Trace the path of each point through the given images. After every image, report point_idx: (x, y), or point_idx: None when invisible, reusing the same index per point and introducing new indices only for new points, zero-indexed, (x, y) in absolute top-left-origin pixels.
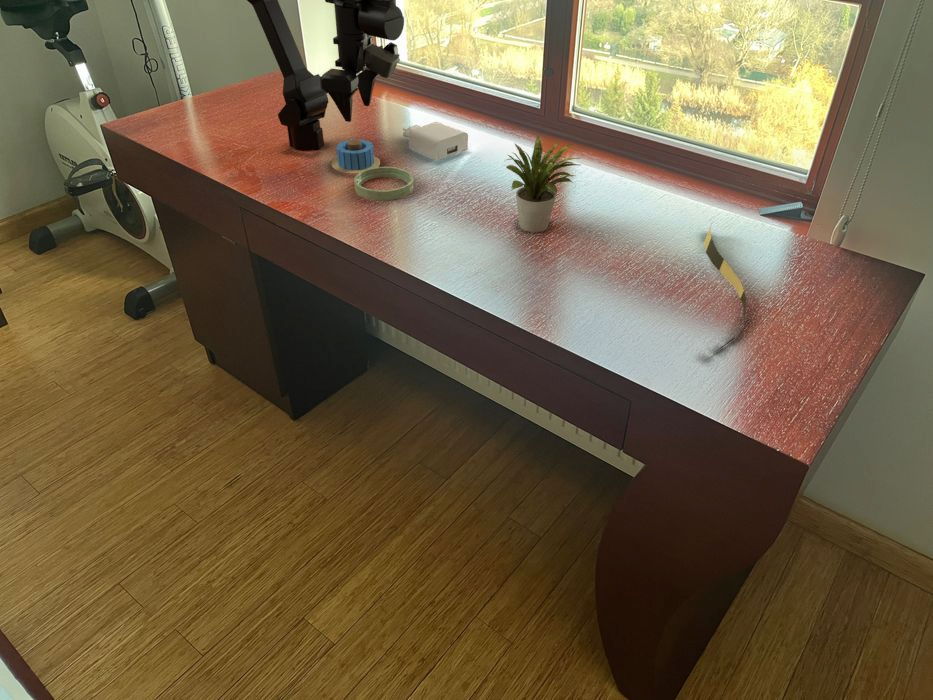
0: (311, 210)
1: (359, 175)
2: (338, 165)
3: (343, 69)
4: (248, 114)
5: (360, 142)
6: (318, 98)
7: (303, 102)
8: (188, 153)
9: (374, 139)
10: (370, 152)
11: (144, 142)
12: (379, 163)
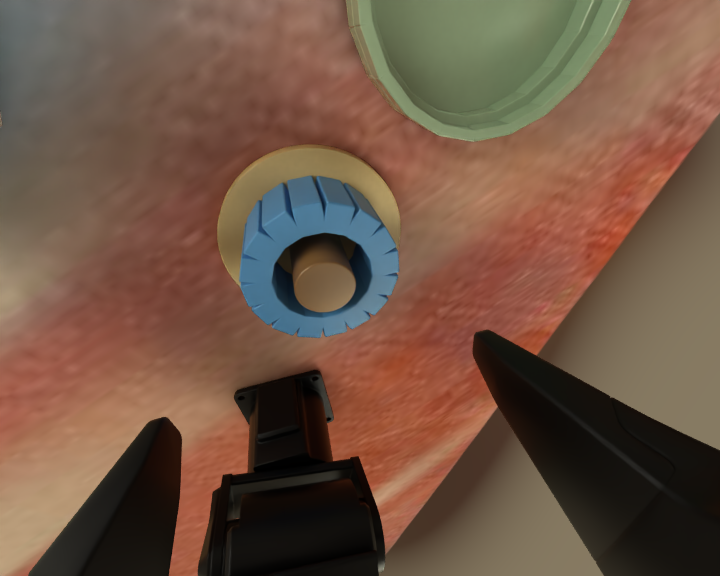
0: (635, 163)
1: (486, 127)
2: None
3: None
4: None
5: (312, 268)
6: (289, 558)
7: (375, 549)
8: (413, 487)
9: (61, 327)
10: (317, 196)
11: (401, 529)
12: (267, 160)
